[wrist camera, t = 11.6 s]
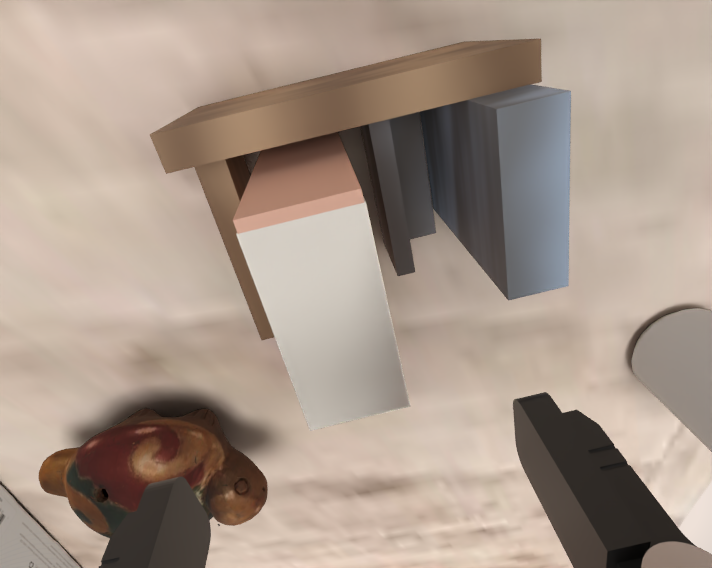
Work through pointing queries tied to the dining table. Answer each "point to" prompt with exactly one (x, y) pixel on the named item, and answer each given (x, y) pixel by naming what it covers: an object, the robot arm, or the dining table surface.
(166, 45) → the dining table surface
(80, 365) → the dining table surface
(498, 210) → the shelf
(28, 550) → the hard drive box
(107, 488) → the decorative turtle
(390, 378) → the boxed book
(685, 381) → the can
